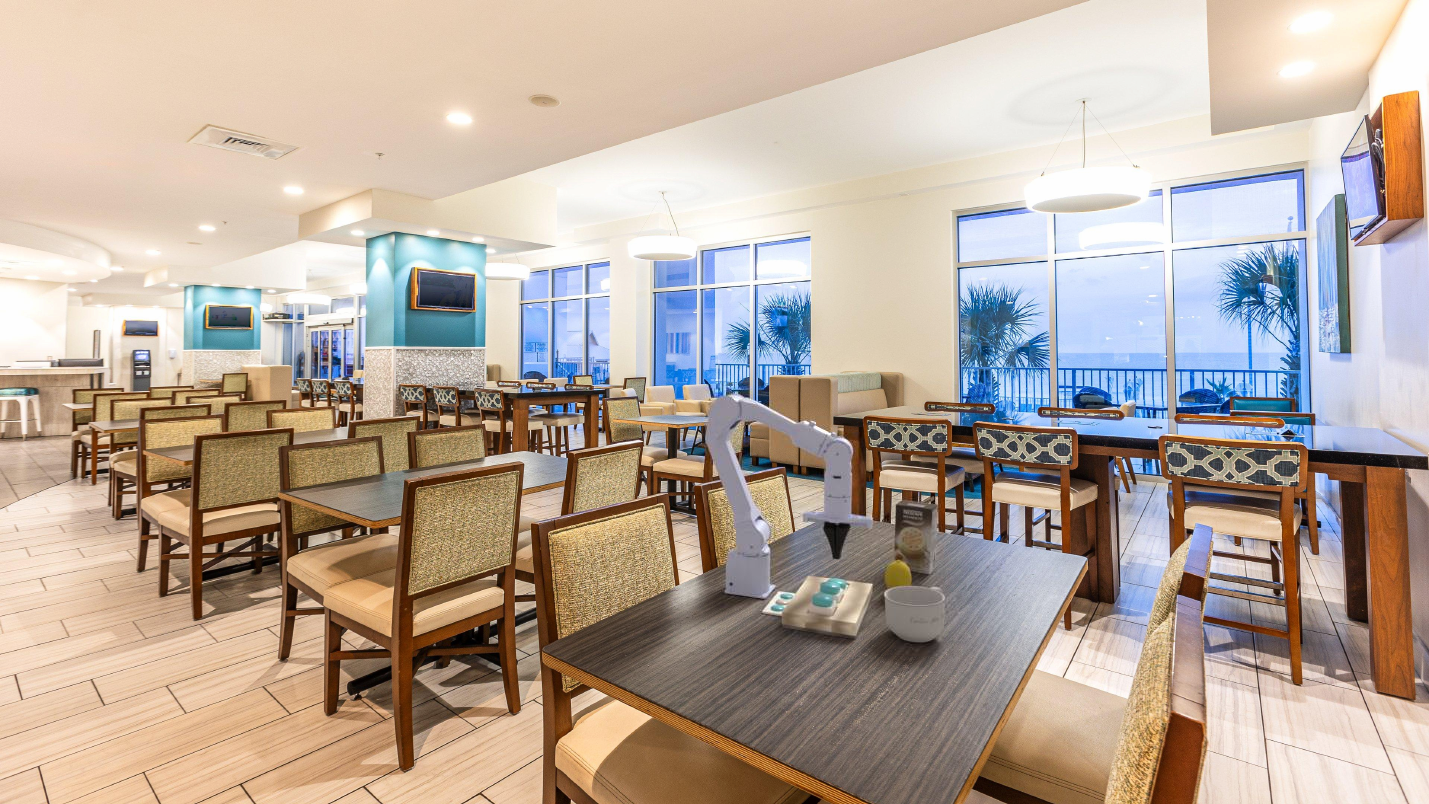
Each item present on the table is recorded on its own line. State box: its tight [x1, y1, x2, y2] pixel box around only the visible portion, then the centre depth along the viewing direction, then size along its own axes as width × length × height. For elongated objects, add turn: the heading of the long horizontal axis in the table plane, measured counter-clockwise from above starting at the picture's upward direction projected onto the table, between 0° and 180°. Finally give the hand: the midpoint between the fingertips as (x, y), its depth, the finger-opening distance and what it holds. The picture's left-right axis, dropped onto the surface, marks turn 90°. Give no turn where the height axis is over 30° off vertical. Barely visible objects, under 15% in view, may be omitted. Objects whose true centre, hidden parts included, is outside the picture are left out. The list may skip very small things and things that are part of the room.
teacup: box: [883, 585, 946, 643], centre depth 118 cm, size 14×11×8 cm
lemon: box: [884, 560, 912, 590], centre depth 137 cm, size 6×6×8 cm
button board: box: [781, 575, 874, 640], centre depth 128 cm, size 14×22×3 cm, turn 158°
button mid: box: [817, 582, 843, 603], centre depth 128 cm, size 4×4×3 cm
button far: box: [827, 577, 849, 591], centre depth 135 cm, size 4×4×3 cm
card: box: [762, 591, 796, 617], centre depth 132 cm, size 5×12×1 cm, turn 158°
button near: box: [809, 593, 836, 616], centre depth 122 cm, size 4×4×3 cm
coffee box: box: [893, 499, 939, 575], centre depth 155 cm, size 9×6×16 cm
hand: (836, 557), depth 134 cm, fingers closed
